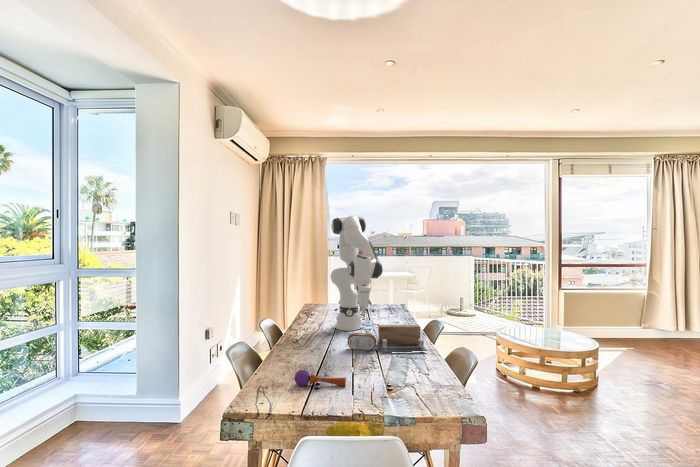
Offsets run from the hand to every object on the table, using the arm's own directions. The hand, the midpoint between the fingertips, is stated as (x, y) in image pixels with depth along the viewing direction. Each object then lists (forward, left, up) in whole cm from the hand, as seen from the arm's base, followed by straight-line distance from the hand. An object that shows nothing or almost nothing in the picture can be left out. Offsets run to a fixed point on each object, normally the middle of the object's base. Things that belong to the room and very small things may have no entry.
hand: (362, 312), depth 180 cm
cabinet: (-2, +21, -19) cm, 28 cm away
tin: (0, 0, -19) cm, 19 cm away
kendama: (+43, -21, -20) cm, 52 cm away
